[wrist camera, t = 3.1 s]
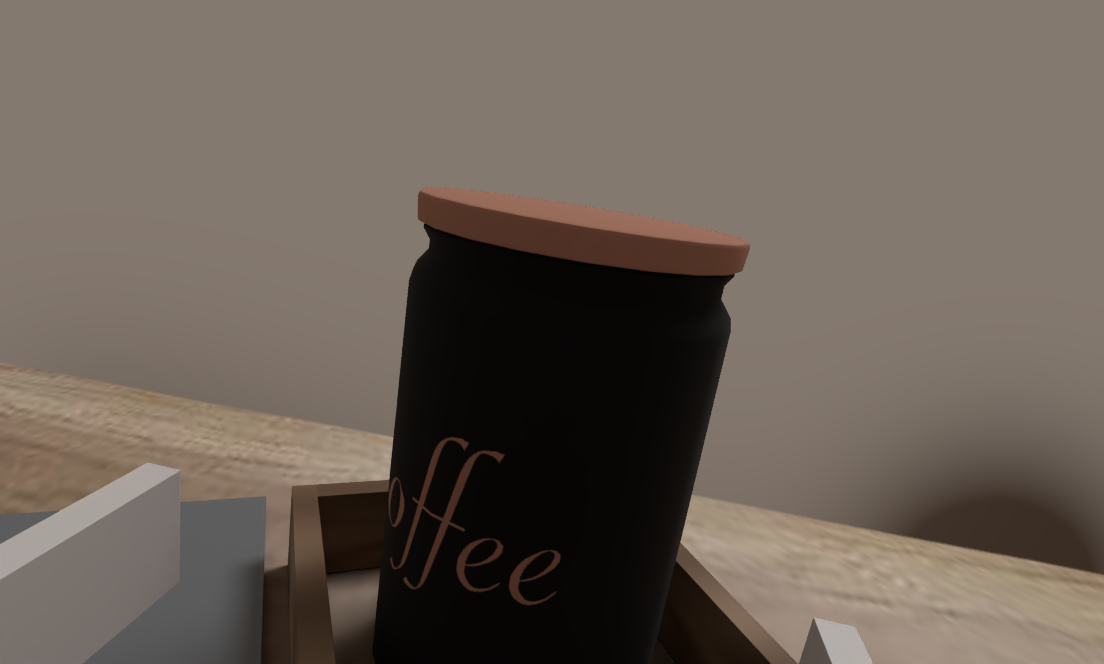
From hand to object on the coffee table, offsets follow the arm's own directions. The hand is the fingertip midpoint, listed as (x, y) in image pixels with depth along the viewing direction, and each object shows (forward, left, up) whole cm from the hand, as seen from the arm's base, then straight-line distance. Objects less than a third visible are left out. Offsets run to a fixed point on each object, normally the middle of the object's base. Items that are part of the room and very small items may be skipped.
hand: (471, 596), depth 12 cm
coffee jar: (+8, -5, -11) cm, 15 cm away
